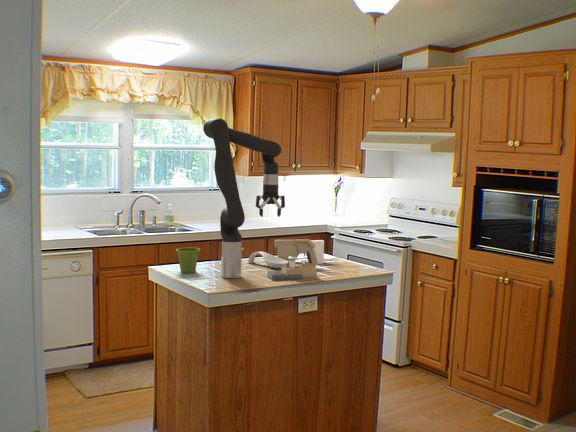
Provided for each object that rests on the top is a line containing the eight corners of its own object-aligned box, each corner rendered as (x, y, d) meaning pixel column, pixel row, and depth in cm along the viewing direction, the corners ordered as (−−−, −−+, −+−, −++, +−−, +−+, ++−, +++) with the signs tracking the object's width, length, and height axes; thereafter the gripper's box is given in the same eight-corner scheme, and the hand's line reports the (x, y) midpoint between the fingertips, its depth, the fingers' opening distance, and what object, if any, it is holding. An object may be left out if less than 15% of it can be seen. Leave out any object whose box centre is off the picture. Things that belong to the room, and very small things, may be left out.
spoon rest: (292, 267, 312) (292, 254, 312) (279, 271, 303) (279, 257, 302) (256, 262, 326) (256, 249, 325) (243, 265, 316) (243, 251, 315)
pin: (289, 278, 284) (289, 257, 283) (286, 276, 288) (287, 256, 287) (296, 278, 285) (297, 257, 284) (294, 276, 289) (294, 256, 288)
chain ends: (271, 280, 279) (272, 269, 279) (267, 276, 288) (267, 266, 287) (316, 278, 285) (316, 268, 285) (310, 274, 294) (310, 264, 293)
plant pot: (190, 268, 303) (190, 246, 302) (204, 272, 294) (204, 249, 293) (170, 271, 295) (170, 248, 293) (184, 275, 286) (184, 252, 285)
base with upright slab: (319, 260, 333) (320, 239, 332) (326, 263, 325) (326, 241, 324) (304, 261, 330) (305, 239, 329) (311, 264, 322) (311, 242, 320)
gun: (318, 268, 311) (316, 239, 310) (315, 269, 308) (313, 240, 307) (278, 266, 323) (276, 239, 322) (275, 267, 320) (273, 240, 319)
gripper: (258, 183, 286) (257, 217, 288) (286, 184, 290) (286, 217, 292) (254, 183, 293) (254, 215, 295) (282, 183, 297) (282, 215, 299)
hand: (270, 216), depth 294 cm, fingers open, 8 cm apart
